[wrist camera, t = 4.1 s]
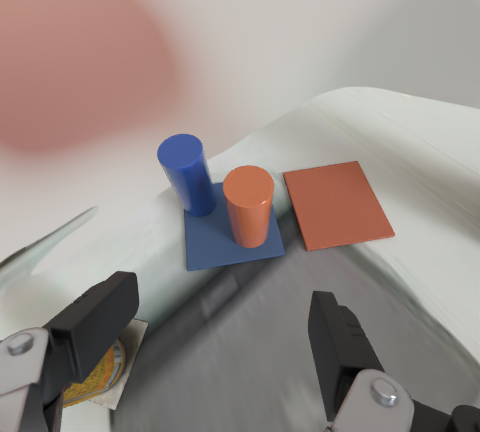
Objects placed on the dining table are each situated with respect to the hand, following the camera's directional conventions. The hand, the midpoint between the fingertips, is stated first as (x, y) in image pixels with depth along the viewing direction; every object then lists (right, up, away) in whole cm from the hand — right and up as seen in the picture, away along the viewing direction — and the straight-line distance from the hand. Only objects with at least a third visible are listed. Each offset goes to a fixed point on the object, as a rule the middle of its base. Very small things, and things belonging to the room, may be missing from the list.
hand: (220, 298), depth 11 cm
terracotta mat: (+15, +6, +24) cm, 29 cm away
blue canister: (-5, +6, +25) cm, 26 cm away
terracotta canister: (+2, +2, +22) cm, 22 cm away
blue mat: (-1, +3, +24) cm, 24 cm away
